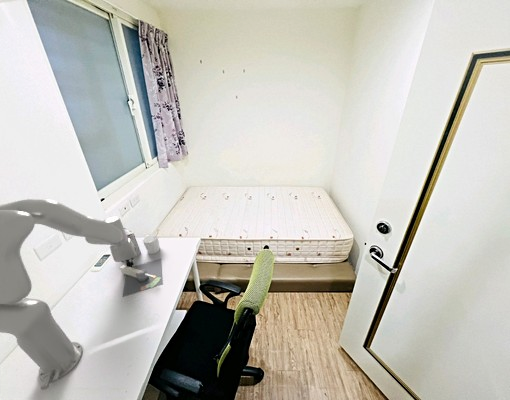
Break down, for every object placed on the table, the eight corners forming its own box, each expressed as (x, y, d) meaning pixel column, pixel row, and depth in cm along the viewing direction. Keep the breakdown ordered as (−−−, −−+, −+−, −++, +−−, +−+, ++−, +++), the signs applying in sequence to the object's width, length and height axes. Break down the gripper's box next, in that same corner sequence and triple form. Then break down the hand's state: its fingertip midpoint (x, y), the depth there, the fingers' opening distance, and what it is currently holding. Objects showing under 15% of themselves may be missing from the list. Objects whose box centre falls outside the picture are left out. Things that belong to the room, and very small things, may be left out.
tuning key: (161, 278, 112) (159, 273, 110) (153, 286, 108) (151, 280, 106) (127, 268, 119) (125, 262, 117) (119, 275, 115) (117, 269, 113)
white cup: (163, 250, 133) (159, 237, 128) (150, 257, 128) (146, 244, 123) (157, 245, 138) (153, 232, 133) (145, 251, 133) (140, 238, 128)
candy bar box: (123, 253, 133) (114, 231, 125) (131, 248, 136) (123, 226, 128) (134, 259, 127) (125, 237, 119) (142, 254, 131) (134, 232, 123)
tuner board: (163, 286, 110) (162, 284, 109) (123, 299, 104) (122, 297, 103) (161, 260, 126) (161, 258, 125) (127, 269, 120) (126, 268, 120)
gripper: (100, 249, 103) (114, 276, 113) (135, 240, 108) (145, 267, 117) (103, 239, 109) (116, 266, 119) (136, 231, 114) (146, 257, 123)
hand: (131, 266), depth 118 cm, fingers closed
